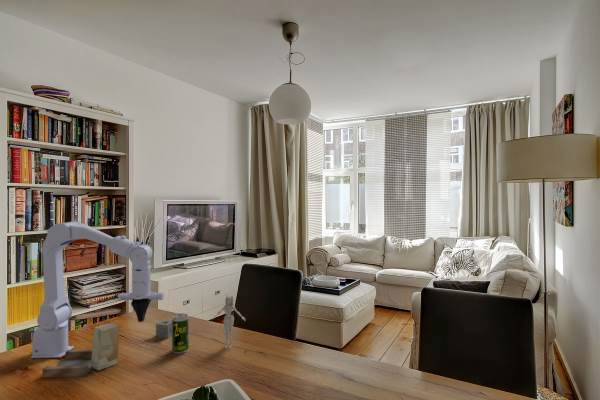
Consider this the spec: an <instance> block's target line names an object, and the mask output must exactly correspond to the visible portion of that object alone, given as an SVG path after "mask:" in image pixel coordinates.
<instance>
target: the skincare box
mask: <svg viewBox="0 0 600 400" xmlns="http://www.w3.org/2000/svg"><path fill="white" fill-rule="evenodd" d="M120 327H121V326H120V325H119V324H117V323H115V322H110V323H106V324H102V325H98V326H94V327H93V334H92V336H93V337H92V346H91V347H92V348H91V349H92V359H91V367H93V368H94V369H95V370H96V371H101V370H103V369H107V368H110V367H112V366H115V365H116V364H118V356H119V341H120V329H121V328H120Z"/></svg>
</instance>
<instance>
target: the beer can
mask: <svg viewBox="0 0 600 400" xmlns="http://www.w3.org/2000/svg"><path fill="white" fill-rule="evenodd" d="M171 320H172V336H171V351H172V353H174V354H176V355H178V354H184V353H187V352H188V351H189V343H190V342H189V327H190V325H189V321H190V320H189V315H188V313H181V312H180V313H176V314H174V315H173V316H172V319H171Z"/></svg>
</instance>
